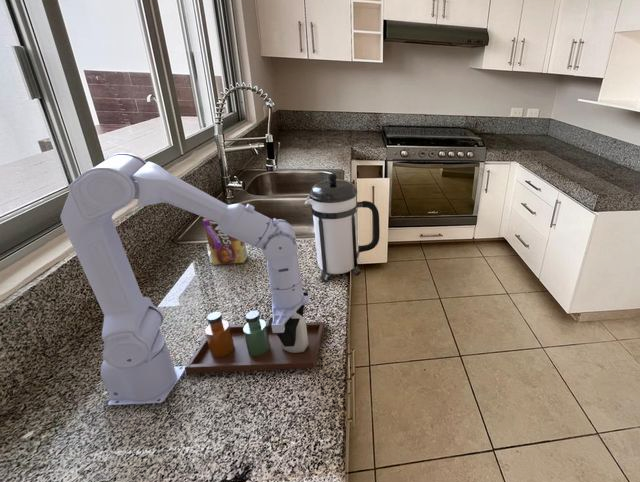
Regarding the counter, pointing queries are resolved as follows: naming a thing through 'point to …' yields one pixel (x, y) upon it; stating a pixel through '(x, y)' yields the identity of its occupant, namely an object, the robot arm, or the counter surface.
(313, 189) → the coffee press
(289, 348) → the eye dropper bottle
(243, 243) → the candy box
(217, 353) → the amber bottle
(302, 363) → the tray
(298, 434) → the counter surface
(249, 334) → the sage bottle
